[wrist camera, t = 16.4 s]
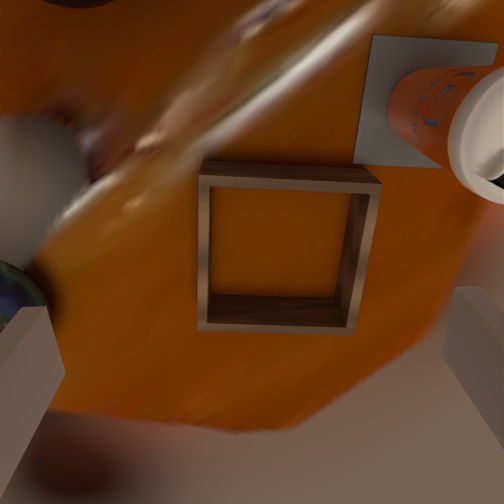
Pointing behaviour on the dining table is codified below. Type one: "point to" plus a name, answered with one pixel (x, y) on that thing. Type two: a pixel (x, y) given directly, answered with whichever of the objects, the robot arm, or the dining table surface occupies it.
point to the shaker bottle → (455, 122)
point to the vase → (17, 293)
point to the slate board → (385, 80)
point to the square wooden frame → (289, 308)
